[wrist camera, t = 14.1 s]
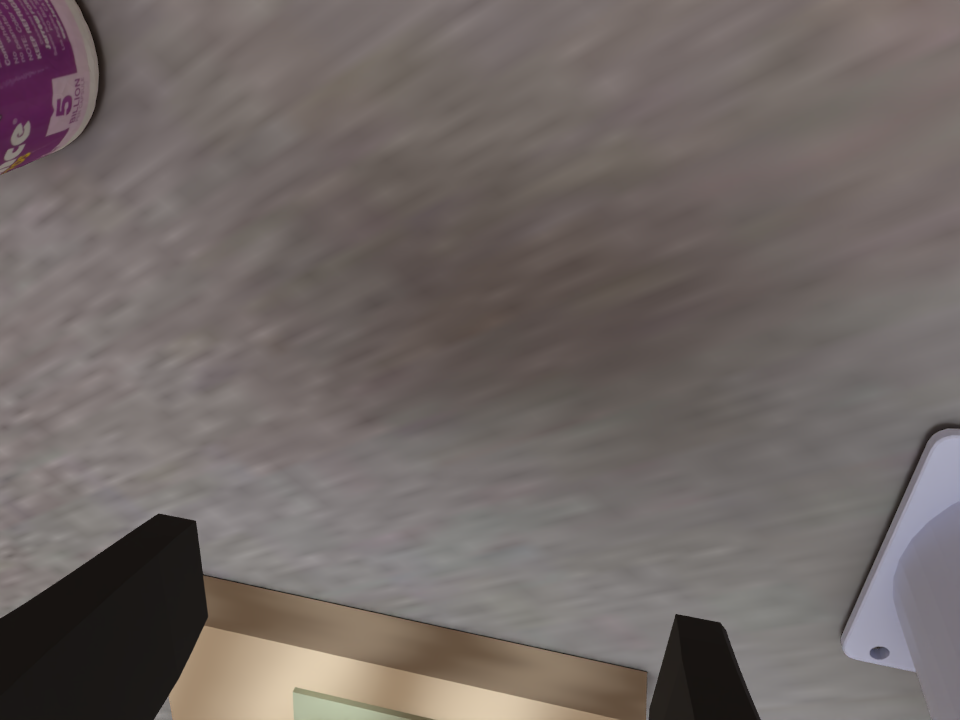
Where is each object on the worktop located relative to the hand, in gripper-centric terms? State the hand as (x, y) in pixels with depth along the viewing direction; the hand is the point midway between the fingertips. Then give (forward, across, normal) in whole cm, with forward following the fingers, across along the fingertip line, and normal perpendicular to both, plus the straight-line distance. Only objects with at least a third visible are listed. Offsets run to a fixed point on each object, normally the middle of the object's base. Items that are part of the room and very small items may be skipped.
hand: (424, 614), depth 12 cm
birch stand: (+10, +3, +19) cm, 22 cm away
